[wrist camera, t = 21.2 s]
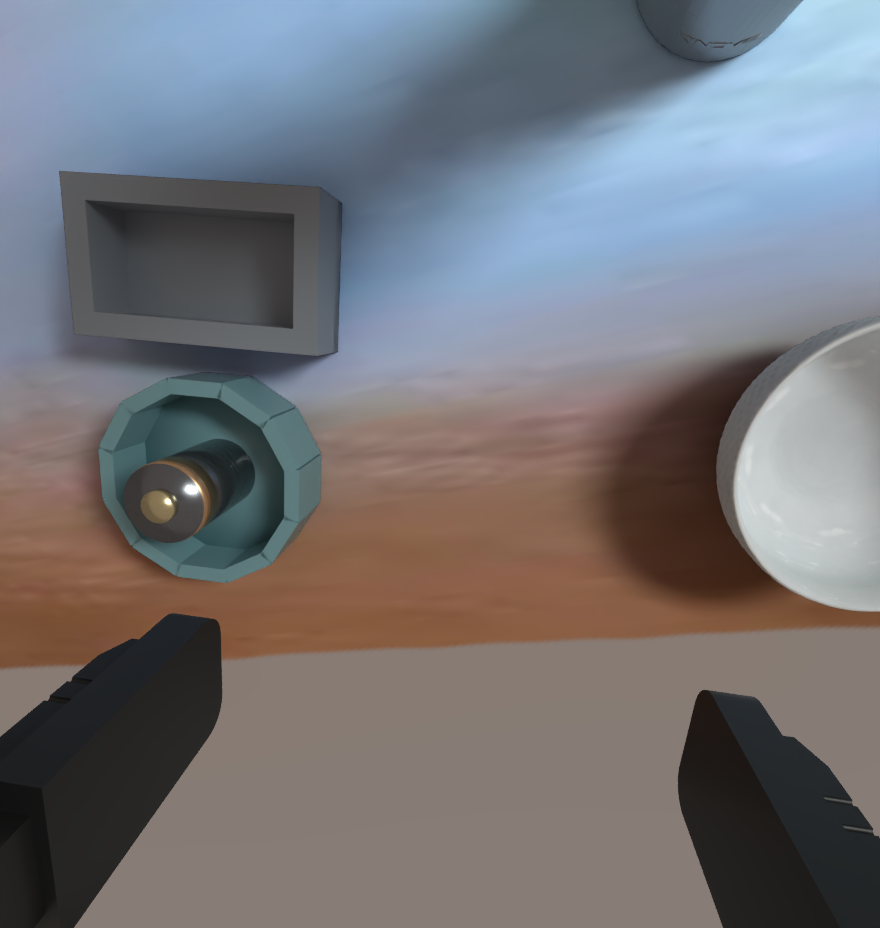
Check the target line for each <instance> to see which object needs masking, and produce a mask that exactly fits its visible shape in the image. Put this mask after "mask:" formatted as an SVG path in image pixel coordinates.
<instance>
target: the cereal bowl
mask: <svg viewBox="0 0 880 928" xmlns="http://www.w3.org/2000/svg"><path fill="white" fill-rule="evenodd" d="M716 469H717V470H716V475H717V480H716V483H717V490H718V494H719V499H720V504H721V506H722V510H723V514H724V516H725V518H726V520H727V524H728V525H729V526H730V528H731V530H732V533H733V534H734V536H735V538H736V539H737V540H738V541H739V543H740V544H741V546H742V547H743V548H744V549H745V551H746V552H747V553H748V555H749V556H750V557H751V558H752V559H753V561H755V562H756V564H757V565H759V566H760V568H761V569H762V570H763V571H764V572H766V573H767V574H768V575H770V576H771V577H772V578H773V579H774V581H776V582H778V583H779V584H781V585H782V586H784V587H786V588H787V589H788V590H790V591H792V592H794V593H796V594H798V595H800V596H803V597H805V598H807V599H810V600H812V601H815V602H818V603H821V604H824V605H827V606H831V607H835V608H840V609H846V610H853V611H880V316H878V317H869V318H866V319H863V320H858V321H852V322H850V323H847V324H843V325H839V326H836V327H833V328H832V329H830V330H826V331H823V332H821V333H819V334H817V335H816V336H813V337H810V338H809V339H806V340H805V341H804V342H802V343H801V344H798V345H796V346H794V347H793V348H792V349H790V350H789V351H788V352H786V353H785V354H783V355H781V356H779V357H778V358H777V359H776V361H774V362H773V363H771V364H770V365H769V366H768V367H766V368H765V370H764V371H763V372H762V373H761V374H759V375H758V377H757V378H756V379H755V380H753V381H752V383H751V385H750V386H749V387H747V389H746V391H745V392H744V393H743V394H742V396H741V398H740V400H739V401H738V402H737V404H736V406H735V408H734V409H733V410H732V413H731V415H730V417H729V419H728V422H727V423H726V425H725V429H724V431H723V434H722V438H721V439H720V446H719V449H718V455H717V465H716Z"/></svg>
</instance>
